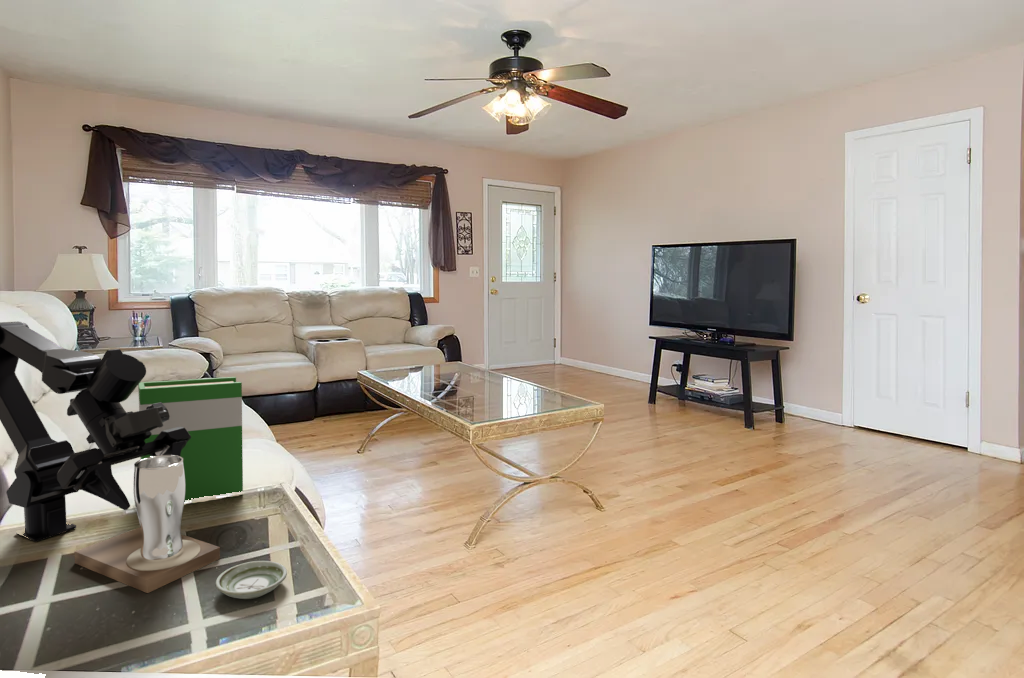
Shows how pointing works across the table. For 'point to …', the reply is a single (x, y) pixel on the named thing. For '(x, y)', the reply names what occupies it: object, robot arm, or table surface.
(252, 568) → the saucer
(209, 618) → the table surface
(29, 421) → the robot arm
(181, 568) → the walnut base
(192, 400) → the hardback book
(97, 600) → the table surface
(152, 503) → the metal tumbler
